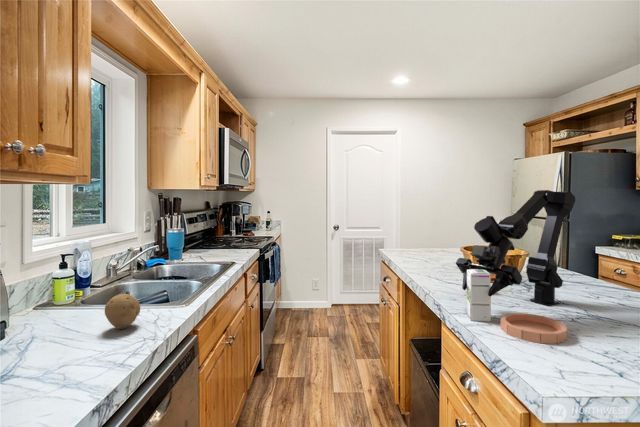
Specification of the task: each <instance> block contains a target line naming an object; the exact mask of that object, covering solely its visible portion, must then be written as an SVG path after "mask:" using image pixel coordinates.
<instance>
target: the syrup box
mask: <svg viewBox="0 0 640 427" xmlns="http://www.w3.org/2000/svg"><path fill="white" fill-rule="evenodd" d="M491 275H492V274H490V273H489V272H487V271H486V270H482V269H467V289H466V314H467V316H468V318H469V319H470V321H473V322H474V321H475V322H489V323H490V322H491V319H492V313H491V312H492V308H491V307H492V306H491V305H492V303H491V302H492V296H489V295H488V293H489V290H490V288H491V286H492V284H491V283H492V282H491Z"/></svg>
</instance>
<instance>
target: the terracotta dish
mask: <svg viewBox="0 0 640 427" xmlns="http://www.w3.org/2000/svg"><path fill="white" fill-rule="evenodd" d="M500 329H501V331H503V332H504V333H505V334H506V335H509V336H511V337H513V338H517V339H519V340H522V341H526V342H532V343H537V344H551V345H552V344H561V343H564V342H566V341H567V334H568V331H567V330H568V329H567V325H565V324H564V323H562V322H561V321H558V320H556V319H553V318H550V317H546V316H545V315H540V314H539V315H538V314H534V313H533V314H532V313H525V312H524V313H522V312H521V313H520V312H511V313H507V314H503V315H501V318H500ZM563 341H564V342H563ZM560 342H561V343H560Z"/></svg>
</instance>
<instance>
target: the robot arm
mask: <svg viewBox="0 0 640 427" xmlns="http://www.w3.org/2000/svg"><path fill="white" fill-rule="evenodd" d="M575 203H576V196H575V195H574V194H573V193H572V191H566V190H565V191H553V190H550V189H545V190H544V189H541V190H540V189H539V190H535V191H533V194H532V196H531V197H529V199H527V200H526V202H525V203H524V204H523V205H522V206H521V207H520V208H519V209H518V210H517V211H516V212H515V213H513V214H512V215H509V216H507V217H505V218H503V219H502V220H500V221H499V222H497V221H496V218H494V216H493V215H487V216H486V217H485V218H482V219H480V220H478V221H476V223H475V224H474V225H473V228H474V230H475V232H476V233H477V234H478V235H479V237H480V238H481V239H482V241H483V242H485V243H488V246H484V245H473V247H472V251H471V254H470V255H471V256H472V257H474V258H476V259H475V261H476V263H479V264H476V263H473V261H472V260H471V258H464V257H459V258H457V260H456V261H455V265H456V267H457V268H458V269H459V270H460V272H461V273H462V275H463V277H462V278H463V279H462V290H463V291H467V269H482V270H486V271H487V272H489V273H490V275H495V279H494V281H493V282H492V284H491V288H490V290H489V293H488V295H489V296H491V297H492V296H494V295H495V294H496V293H498V292H500V291H502V290H503V289H505V288H508V287H509V286H513V285H520V284H521V283H522V280H523V276H522V274H521V272H520V271H519V269H518V267H517V266H516V265H512V264H511V265H510V264H506V262H507V261H506V256H507V254H508V252H509V251H515V245H514V244H513V241H511V240H512V239H513V240H521V239H522V238H523V237H524V236H525V235H526V234H527V232H528V230H529V224H530V222H531V221H532V220H533V219H534V218H535V217H536V216H537V215H538V213H539V212H541V210H542V209H544V211H545V213H546V216H545V217H546V218H545V220H544V221H545V222H544V224H543V225H544V226H543V228H542V229H543V230H542V234H541V237H540V240H539V245H538V249H537V252H536V254H535V255H534V256H529V257H528V259H527V263H526V266H525V269H526V272H525V273H526V275H527V280H528V282H529V283H532V284H534V290H533V294H534V295H533V296H534V297H533V298H530V299H529V301H530V302H533V303H537V304H541V305H543V306H547V307H548V306H553V305H557V304H560V301H558V300H556V299H555V298H556V289H560V288H561V287H562V286H563V283H564V280H563V279H562V278H561V276H560V275H559V274H558V265H557V262H556V260H555V255H556V252H557V248H558V243H559V238H560V235H561V232H562V231H561V230H562V227H563V223H564V218H566V217H567V215H569V214H570V213H571V212H572V210H573V208H574V206H575ZM510 239H511V240H510Z"/></svg>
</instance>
